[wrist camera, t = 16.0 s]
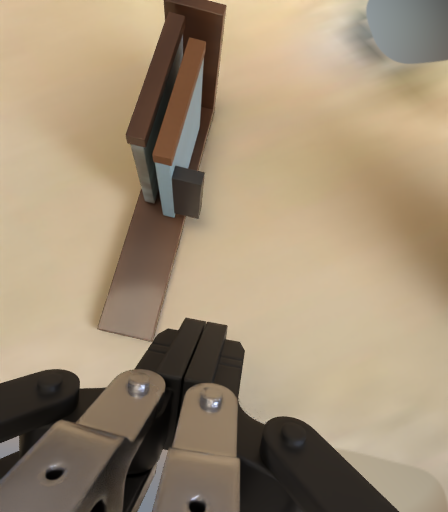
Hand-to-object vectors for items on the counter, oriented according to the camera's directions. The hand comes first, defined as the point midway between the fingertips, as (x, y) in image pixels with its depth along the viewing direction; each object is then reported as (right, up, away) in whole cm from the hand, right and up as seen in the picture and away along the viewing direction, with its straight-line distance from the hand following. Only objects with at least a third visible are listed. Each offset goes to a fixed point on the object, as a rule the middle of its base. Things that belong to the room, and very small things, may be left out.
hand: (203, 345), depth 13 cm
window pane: (-3, +12, +25) cm, 28 cm away
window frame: (-6, +8, +25) cm, 27 cm away
